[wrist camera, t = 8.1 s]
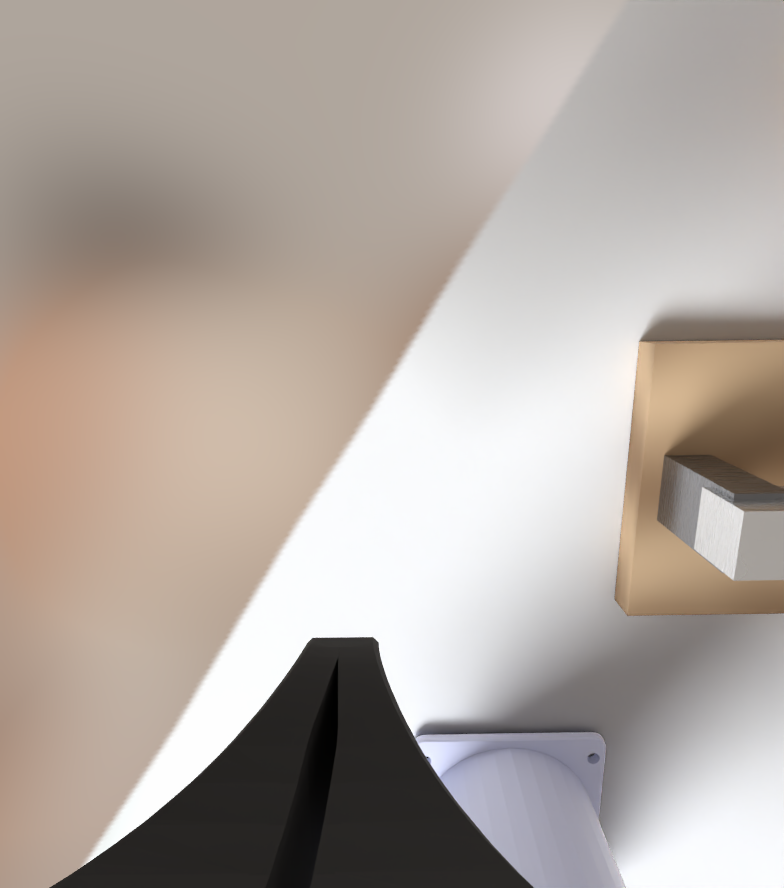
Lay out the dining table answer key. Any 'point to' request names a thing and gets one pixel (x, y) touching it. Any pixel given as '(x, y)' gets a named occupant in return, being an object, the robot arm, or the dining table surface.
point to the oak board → (697, 433)
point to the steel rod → (724, 515)
